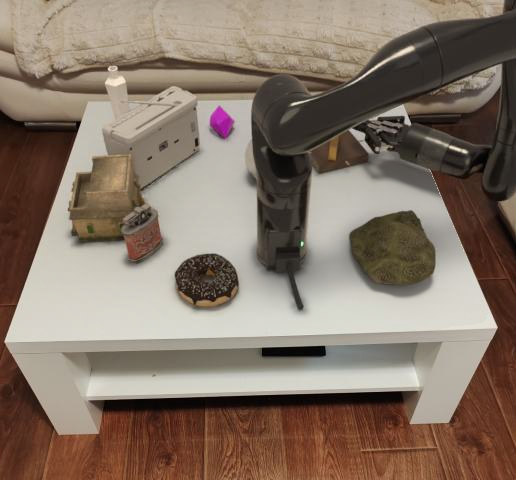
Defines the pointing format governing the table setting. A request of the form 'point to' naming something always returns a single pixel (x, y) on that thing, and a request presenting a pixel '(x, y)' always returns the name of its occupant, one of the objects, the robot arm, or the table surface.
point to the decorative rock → (394, 249)
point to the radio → (156, 133)
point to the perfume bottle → (117, 92)
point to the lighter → (142, 233)
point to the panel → (339, 154)
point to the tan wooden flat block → (334, 148)
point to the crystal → (221, 121)
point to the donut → (206, 290)
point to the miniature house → (104, 198)
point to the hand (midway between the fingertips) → (353, 121)
